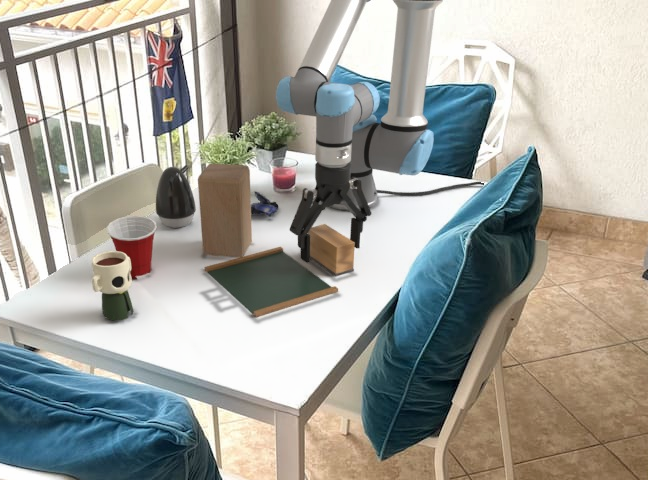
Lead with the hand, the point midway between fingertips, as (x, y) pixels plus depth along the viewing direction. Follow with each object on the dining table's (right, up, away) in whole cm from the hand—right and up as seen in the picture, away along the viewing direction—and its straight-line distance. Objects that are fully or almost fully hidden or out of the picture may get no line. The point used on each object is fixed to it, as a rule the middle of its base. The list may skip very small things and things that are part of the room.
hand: (330, 253), depth 159 cm
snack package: (-17, +14, +29) cm, 36 cm away
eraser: (0, -3, +2) cm, 4 cm away
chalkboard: (-14, -7, -5) cm, 16 cm away
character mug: (-45, -15, -15) cm, 49 cm away
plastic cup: (-44, -5, 0) cm, 44 cm away
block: (-24, +2, +10) cm, 26 cm away
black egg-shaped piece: (-38, +10, +23) cm, 46 cm away
